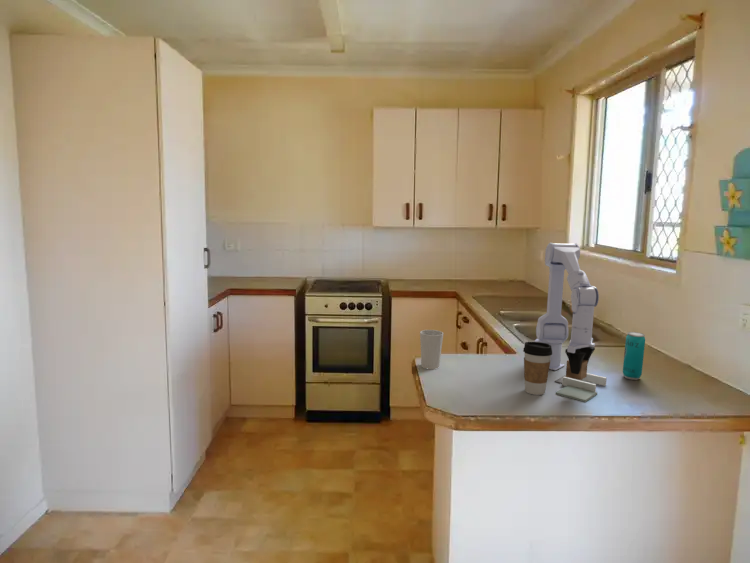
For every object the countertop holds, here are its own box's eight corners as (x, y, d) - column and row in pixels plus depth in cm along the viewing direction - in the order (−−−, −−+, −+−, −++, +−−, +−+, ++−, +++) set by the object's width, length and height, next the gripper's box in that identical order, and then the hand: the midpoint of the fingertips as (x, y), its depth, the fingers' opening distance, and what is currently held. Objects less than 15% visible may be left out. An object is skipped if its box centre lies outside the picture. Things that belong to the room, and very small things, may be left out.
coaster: (555, 394, 162) (555, 392, 162) (567, 386, 169) (568, 385, 169) (585, 402, 156) (585, 400, 156) (597, 394, 163) (597, 392, 163)
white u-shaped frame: (553, 382, 173) (553, 375, 172) (566, 375, 180) (566, 368, 180) (594, 392, 164) (595, 385, 164) (605, 385, 171) (606, 377, 171)
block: (565, 376, 162) (566, 360, 161) (571, 373, 165) (572, 357, 165) (580, 380, 159) (581, 363, 158) (586, 376, 162) (587, 360, 162)
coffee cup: (514, 388, 166) (518, 341, 164) (537, 385, 169) (540, 339, 167) (531, 397, 159) (535, 348, 156) (555, 394, 162) (559, 346, 159)
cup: (446, 368, 184) (447, 334, 182) (425, 371, 181) (426, 336, 179) (435, 362, 191) (436, 329, 190) (414, 364, 188) (416, 330, 187)
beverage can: (624, 373, 183) (629, 330, 181) (643, 377, 180) (647, 333, 177) (620, 377, 179) (624, 333, 177) (638, 381, 175) (643, 336, 173)
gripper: (586, 333, 151) (582, 380, 154) (604, 325, 162) (600, 369, 164) (561, 329, 156) (558, 374, 158) (581, 321, 167) (577, 364, 169)
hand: (578, 371), depth 162 cm, fingers closed on block, 4 cm apart
